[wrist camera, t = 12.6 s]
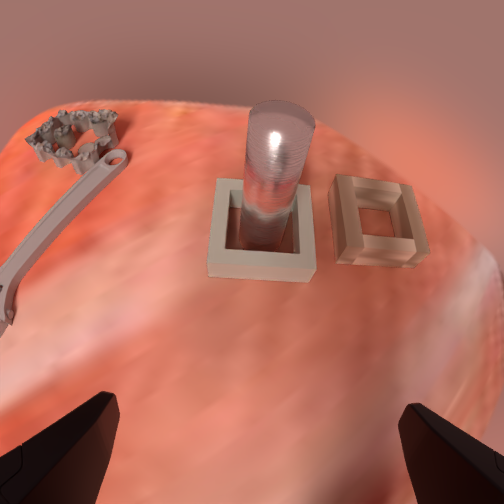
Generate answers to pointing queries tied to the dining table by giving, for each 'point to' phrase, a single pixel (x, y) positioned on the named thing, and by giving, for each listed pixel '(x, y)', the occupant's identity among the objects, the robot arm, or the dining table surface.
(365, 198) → the beige square ring
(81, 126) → the grey jagged open ring
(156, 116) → the dining table surface
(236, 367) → the dining table surface
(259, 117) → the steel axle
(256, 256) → the square hollow frame
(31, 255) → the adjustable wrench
